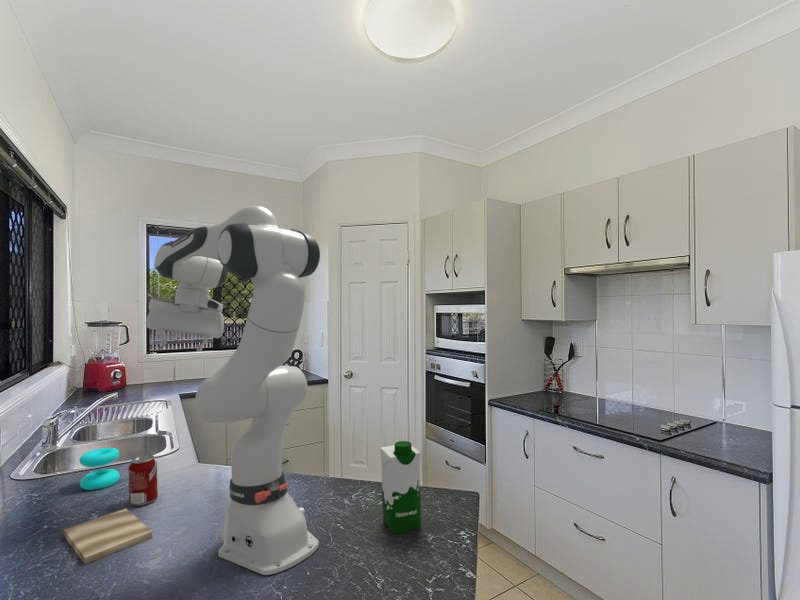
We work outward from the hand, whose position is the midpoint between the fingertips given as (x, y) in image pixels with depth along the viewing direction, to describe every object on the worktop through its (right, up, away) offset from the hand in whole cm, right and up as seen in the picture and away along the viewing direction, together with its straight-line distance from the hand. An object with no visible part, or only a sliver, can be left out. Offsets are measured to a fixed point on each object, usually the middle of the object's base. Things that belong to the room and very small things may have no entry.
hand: (181, 348), depth 122 cm
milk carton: (+63, -40, -18) cm, 77 cm away
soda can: (-9, -42, -3) cm, 43 cm away
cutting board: (-7, -42, -21) cm, 47 cm away
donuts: (-29, -43, +9) cm, 53 cm away
